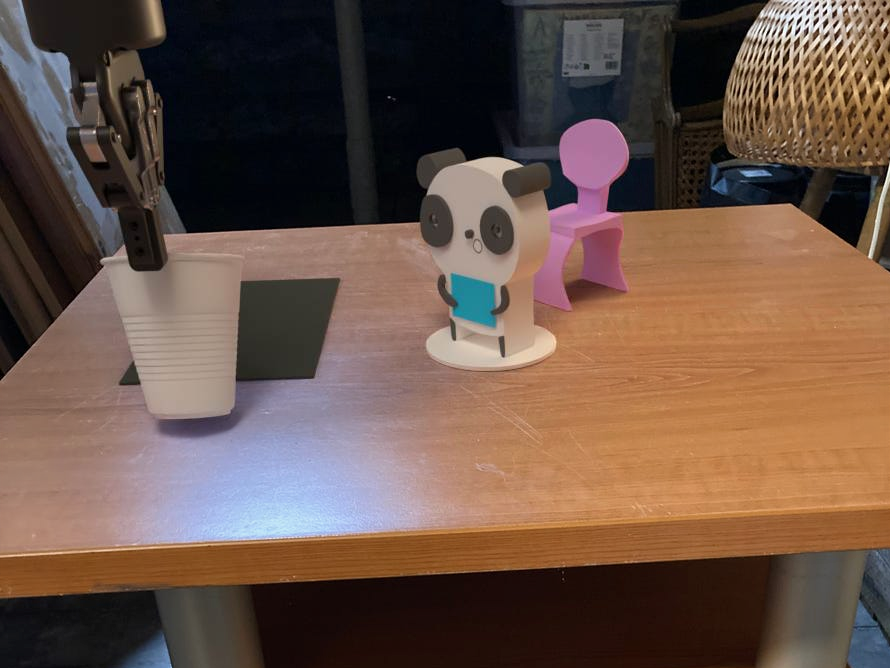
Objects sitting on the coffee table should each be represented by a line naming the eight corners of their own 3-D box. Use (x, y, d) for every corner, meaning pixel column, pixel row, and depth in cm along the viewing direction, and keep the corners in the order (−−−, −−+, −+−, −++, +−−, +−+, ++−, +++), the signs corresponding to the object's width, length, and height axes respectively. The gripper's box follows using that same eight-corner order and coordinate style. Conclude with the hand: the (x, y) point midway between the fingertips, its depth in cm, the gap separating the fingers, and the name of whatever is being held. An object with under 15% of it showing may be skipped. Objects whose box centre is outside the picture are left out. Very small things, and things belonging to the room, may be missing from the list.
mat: (313, 378, 82) (313, 375, 82) (119, 384, 82) (118, 382, 82) (339, 279, 103) (339, 277, 103) (184, 284, 103) (184, 282, 102)
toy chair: (512, 295, 97) (511, 125, 88) (575, 275, 102) (580, 111, 93) (573, 315, 92) (579, 137, 83) (636, 293, 97) (648, 122, 88)
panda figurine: (394, 346, 87) (379, 160, 78) (484, 313, 94) (480, 137, 84) (492, 382, 80) (488, 182, 71) (582, 343, 87) (590, 155, 78)
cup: (286, 409, 76) (272, 256, 73) (201, 423, 68) (180, 250, 65) (185, 408, 81) (167, 263, 77) (93, 421, 72) (68, 259, 69)
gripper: (50, -56, 60) (119, 241, 71) (-34, -44, 50) (62, 303, 60) (174, -59, 60) (225, 238, 71) (117, -49, 50) (186, 299, 60)
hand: (150, 267), depth 65 cm, fingers closed
